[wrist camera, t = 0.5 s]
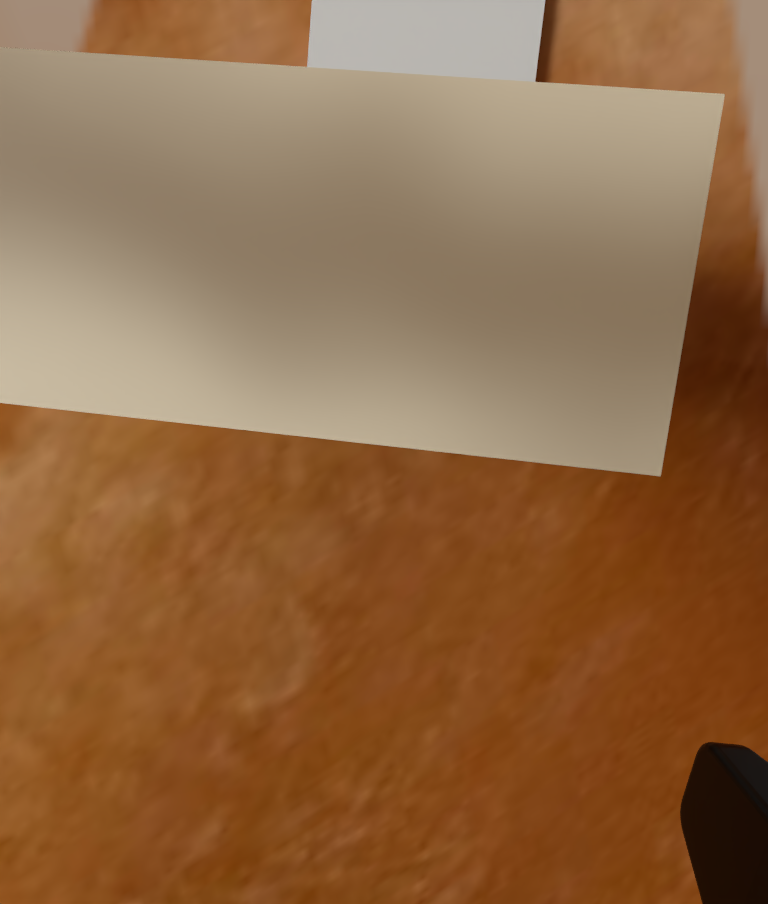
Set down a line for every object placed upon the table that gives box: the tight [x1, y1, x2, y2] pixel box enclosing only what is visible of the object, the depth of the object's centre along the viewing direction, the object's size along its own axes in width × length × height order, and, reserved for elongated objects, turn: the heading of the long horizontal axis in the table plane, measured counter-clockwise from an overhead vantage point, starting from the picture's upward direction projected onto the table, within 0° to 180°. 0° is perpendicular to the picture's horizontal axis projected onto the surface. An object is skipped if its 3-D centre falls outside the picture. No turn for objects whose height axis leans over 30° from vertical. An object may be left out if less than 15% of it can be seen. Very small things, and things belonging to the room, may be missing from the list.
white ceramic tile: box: [307, 0, 545, 82], centre depth 21 cm, size 10×7×1 cm, turn 175°
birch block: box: [0, 47, 725, 476], centre depth 16 cm, size 5×10×13 cm, turn 84°
